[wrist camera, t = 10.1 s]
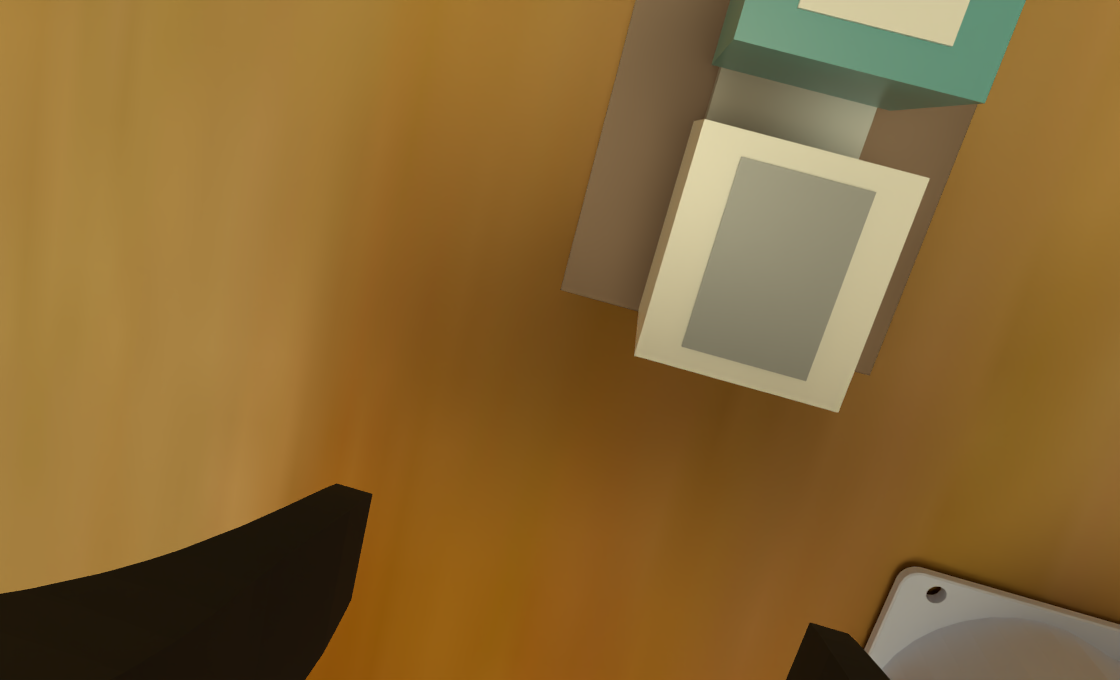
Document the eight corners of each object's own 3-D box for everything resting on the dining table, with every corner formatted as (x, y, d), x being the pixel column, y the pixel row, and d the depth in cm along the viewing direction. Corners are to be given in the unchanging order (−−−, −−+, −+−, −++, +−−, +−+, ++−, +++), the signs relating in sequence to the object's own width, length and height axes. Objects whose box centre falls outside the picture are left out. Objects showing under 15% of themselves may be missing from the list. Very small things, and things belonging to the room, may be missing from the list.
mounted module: (867, 167, 17) (931, 178, 13) (800, 352, 18) (839, 414, 14) (693, 121, 17) (704, 118, 13) (638, 308, 18) (633, 357, 14)
